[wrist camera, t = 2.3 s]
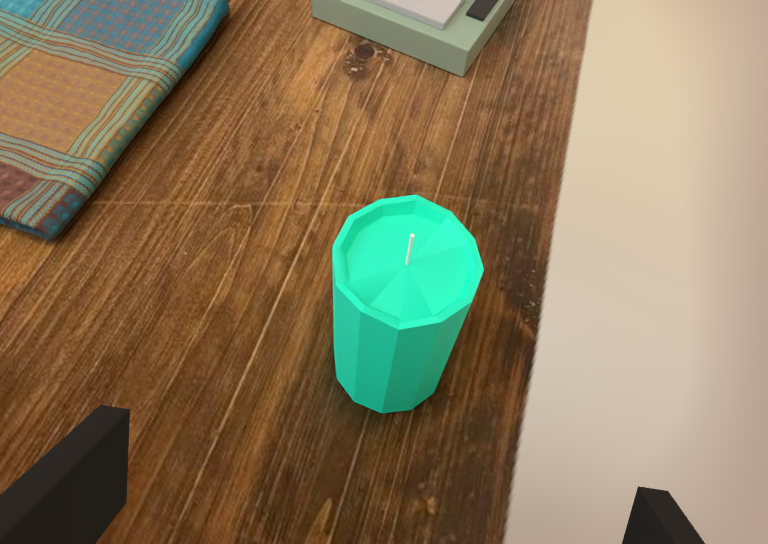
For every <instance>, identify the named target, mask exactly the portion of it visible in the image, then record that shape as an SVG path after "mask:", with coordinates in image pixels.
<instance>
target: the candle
mask: <svg viewBox="0 0 768 544" xmlns="http://www.w3.org/2000/svg"><path fill="white" fill-rule="evenodd" d="M332 263H333V320H334V356H335V366H336V376H337V380H338V381H339V382H340V384H341V385H342V386H343V388H344V389H345V390H346V392H347V393H348V394H349V396H350V397H351V398H352V400H353V401H354V402H356V403H358V404H361V405H363V406H365V407H368V408H370V409H373V410H375V411H377V412H380V413H389V412H398V411H407V410H412V409H413V408H415V407H416V406H417V405H419V404H420V403H421V402H423V401H424V400H425V399H427V398H428V397H429V396H431V395H432V394H433V393H434V392H435V389H436V387H437V384H438V382H439V380H440V377H441V375H442V372H443V370H444V368H445V365H446V363H447V360H448V358H449V356H450V353H451V351H452V348H453V346H454V344H455V341H456V339H457V336H458V334H459V332H460V329H461V327H462V324H463V322H464V320H465V317H466V315H467V312H468V310H469V308H470V305H471V303H472V300H473V298H474V295H475V292H476V290H477V287H478V284H479V282H480V279H481V276H482V274H483V271H484V269H483V265H482V262H481V258H480V255H479V251H478V248H477V245H476V241H475V239H474V237H473V236H472V235H471V234H470V233H469V232H468V231H467V229H466V228H465V227H464V226H463V225H462V224H461V223H460V221H459V220H458V219H457V218H456V217H455V216H454V215H453V213H452V212H451V211H449V210H447V209H445V208H443V207H441V206H439V205H437V204H435V203H433V202H431V201H428V200H426V199H424V198H422V197H420V196H418V195H410V196H402V197H395V198H387V199H380V200H377V201H375V202H374V203H372V204H370V205H368V206H366V207H365V208H363V209H361V210H359V211H357V212H355V213H354V214H352V215H350V216H348V218H347V220H346V222H345V224H344V226H343V228H342V229H341V231H340V233H339V235H338V237H337V239H336V241H335V243H334V244H333V246H332Z"/></svg>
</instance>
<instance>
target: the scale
mask: <svg viewBox="0 0 768 544" xmlns="http://www.w3.org/2000/svg"><path fill="white" fill-rule="evenodd" d="M514 1H515V0H312V15H313V17H315V18H318V19H320V20H323V21H325V22H328V23H330V24H333V25H335V26H338V27H340V28H343V29H345V30H347V31H350V32H352V33H355V34H357V35H360V36H362V37H365V38H367V39H370V40H372V41H375V42H377V43H380V44H382V45H384V46H387V47H389V48H392V49H394V50H397V51H399V52H402V53H404V54H407V55H409V56H412V57H414V58H417V59H419V60H421V61H424V62H426V63H429V64H431V65H434V66H436V67H439V68H441V69H444V70H446V71H449V72H451V73H454V74H456V75H458V76H461V77H463V76H464V75H465V73H466V72H467V70H468V69H469V68H470V66H471V65H472V63H473V62H474V60H475V59H476V57H477V56H478V54H479V53H480V51H481V50H482V48H483V47H484V46H485V44H486V43H487V41H488V40H489V38H490V37H491V35H492V34H493V32H494V31H495V29H496V28H497V26H498V25H499V23H500V22H501V21H502V19H503V18H504V16H505V15H506V13H507V12H508V10H509V9H510V7H511V6H512V4H513V3H514Z"/></svg>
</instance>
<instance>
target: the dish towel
mask: <svg viewBox="0 0 768 544" xmlns="http://www.w3.org/2000/svg"><path fill="white" fill-rule="evenodd" d="M228 3H229V0H0V224H3V225H6V226H8V227H11V228H14V229H19V230H22V231H24V232H26V233H29V234H34V235H36V236H38V237H41V238H43V239H46V240H47V241H49V242H51V241H54V240H55V239H56V237H57V236H58V235H59V234H60V233H61V231H62V230H63V229H64V228H65V227H66V226H67V224H68V223H69V222H70V221H71V219H72V218H73V217H74V216H75V215H76V214H77V212H78V211H79V210H80V208H81V207H82V206H83V205H84V204H85V203H86V201H87V200H88V198H89V197H90V196H91V195H92V193H93V192H94V191H95V190H96V188H97V187H98V186H99V184H100V183H101V182H102V180H103V179H104V177H105V176H106V175H107V173H108V172H109V171H110V169H111V167H112V166H113V164H114V163H115V162H116V161H117V159H118V158H119V156H120V155H121V153H122V152H123V151H124V150H125V148H126V147H127V145H128V144H129V143H130V141H132V140H133V139H134V137H135V135H136V134H137V132H138V131H139V130H140V129H141V128H142V126H143V125H144V124H145V122H146V121H147V120H148V119H149V117H150V116H151V115H152V113H153V112H154V111H155V110H156V109H157V107H158V106H159V105H160V103H161V102H162V101H163V100H164V99H165V97H166V96H167V95H168V94H169V93H170V92H171V90H172V89H173V88H174V86H175V85H176V84H177V82H178V81H179V80H180V78H181V77H182V76H183V75H184V74H185V72H186V71H187V70H188V68H189V67H190V66H191V65H192V64H193V62H194V61H195V59H196V58H197V57H198V55H199V53H200V52H201V51H202V50H203V49H204V47H205V45H206V44H207V42H208V41H209V40H210V38H211V36H212V35H213V33H214V32H215V31H216V28H217V26H218V25H219V24H220V22H221V20H222V19H223V18H224V17H225V15H226V14H227V13H228V12H229V10H230V9H229V5H228Z"/></svg>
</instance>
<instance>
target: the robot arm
mask: <svg viewBox="0 0 768 544" xmlns="http://www.w3.org/2000/svg"><path fill="white" fill-rule="evenodd" d="M129 420H130V409H124V408H117V407H110V406H104V405H100V406H99V407H98V408H97V409H95V410H94V411H93V412H92V413H91V414H90V415H89V416H88V417H87V418H85V419H84V420H83V421H82V422H81V423H80V424H79V425H78V426H77V427H75V428H74V429H73V430H72V431H71V432H70V433H69V434H68V435H67V436H65V437H64V438H63V439H62V440H61V441H60V442H59V443H58V444H56V445H55V446H54V447H53V448H52V449H51V450H50V451H49V452H48V453H46V454H45V455H44V456H43V457H42V458H41V459H40V460H39V461H38V462H36V463H35V464H34V465H33V466H32V467H31V468H30V469H29V470H28V471H26V472H25V473H24V474H23V475H22V476H21V477H20V478H19V479H17V480H16V481H15V482H14V483H13V484H12V485H11V486H10V487H9V488H7V489H6V490H5V491H4V492H3V493H2V494H1V495H0V544H95V543H96V542H97V540H98V539H99V538H100V536H101V535H102V534H103V532H104V531H105V530H106V528H107V527H108V526H109V524H110V523H111V522H112V521H113V519H114V518H115V517H116V515H117V514H118V513H119V511H120V510H121V509H122V507H123V506H124V505H125V503H126V495H127V470H128V445H129ZM622 544H705V543H704V541H703V540H702V539H701V537H700V536H699V534H698V533H697V532H696V530H695V529H694V527H693V526H692V525H691V523H690V522H689V520H688V519H687V517H686V516H685V515H684V513H683V512H682V510H681V509H680V508H679V506H678V505H677V503H676V502H675V500H674V499H673V497H672V496H671V495H670V493H669V492H668V491H664V490H657V489H651V488H645V487H638V489H637V493H636V496H635V499H634V503H633V506H632V510H631V514H630V517H629V521H628V524H627V528H626V532H625V535H624V538H623V542H622Z"/></svg>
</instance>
